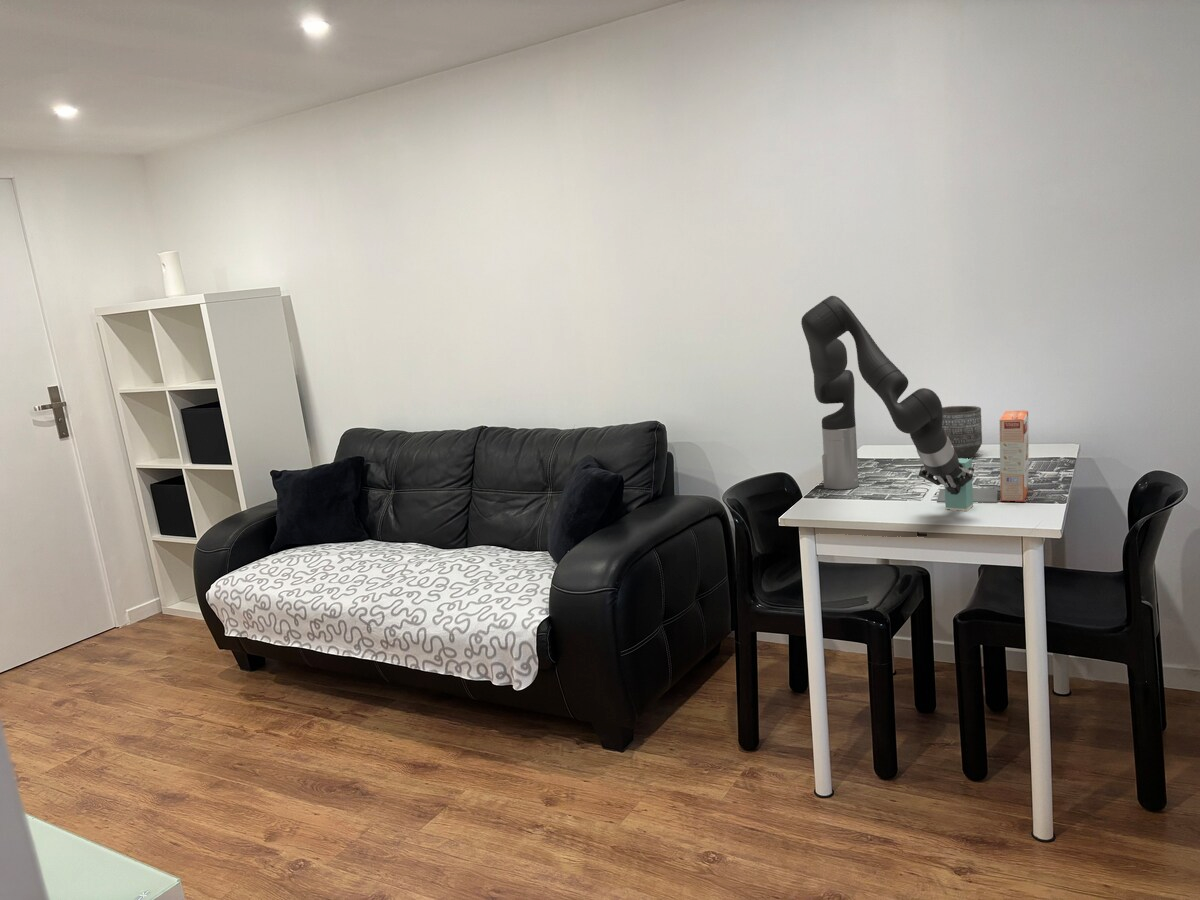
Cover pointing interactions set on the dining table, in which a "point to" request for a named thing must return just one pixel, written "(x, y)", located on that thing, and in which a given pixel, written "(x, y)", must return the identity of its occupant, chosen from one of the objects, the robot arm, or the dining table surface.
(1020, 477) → the cracker box
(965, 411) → the planter
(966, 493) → the teal block
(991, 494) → the grey mat
